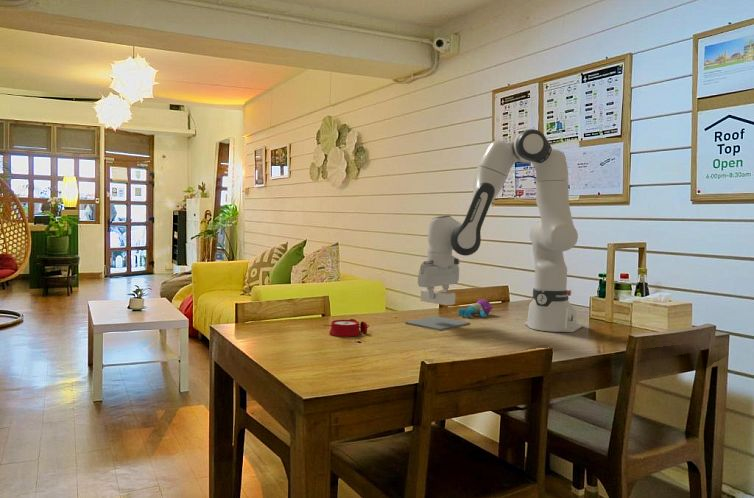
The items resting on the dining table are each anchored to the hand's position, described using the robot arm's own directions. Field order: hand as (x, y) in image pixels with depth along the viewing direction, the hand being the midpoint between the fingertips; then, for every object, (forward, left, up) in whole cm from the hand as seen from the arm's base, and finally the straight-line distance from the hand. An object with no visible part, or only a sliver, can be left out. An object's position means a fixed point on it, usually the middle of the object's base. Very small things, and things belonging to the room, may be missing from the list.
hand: (437, 297), depth 217 cm
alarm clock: (+36, -9, -10) cm, 38 cm away
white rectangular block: (0, 0, -2) cm, 2 cm away
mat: (0, 0, -10) cm, 10 cm away
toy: (-26, 0, -10) cm, 28 cm away
